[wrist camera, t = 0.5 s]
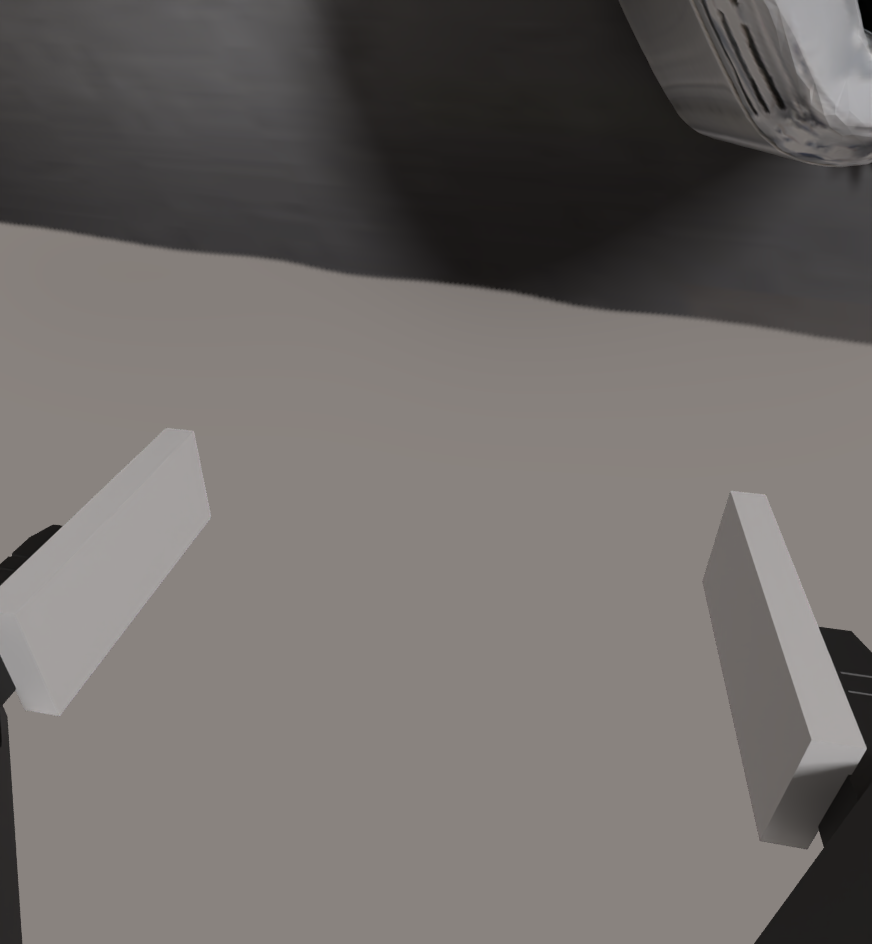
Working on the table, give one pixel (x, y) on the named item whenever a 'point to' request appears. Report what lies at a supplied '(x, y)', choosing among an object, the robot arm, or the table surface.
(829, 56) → the toaster
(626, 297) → the table surface
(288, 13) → the table surface
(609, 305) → the table surface
